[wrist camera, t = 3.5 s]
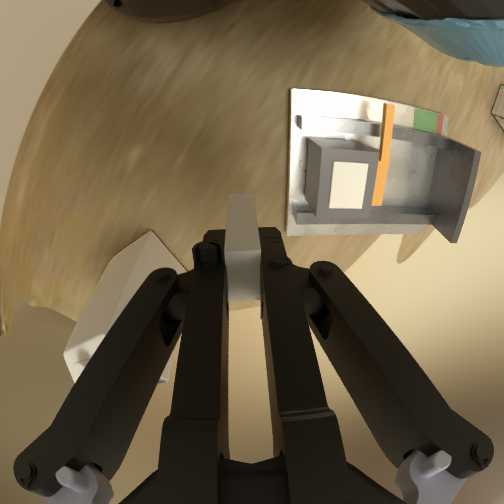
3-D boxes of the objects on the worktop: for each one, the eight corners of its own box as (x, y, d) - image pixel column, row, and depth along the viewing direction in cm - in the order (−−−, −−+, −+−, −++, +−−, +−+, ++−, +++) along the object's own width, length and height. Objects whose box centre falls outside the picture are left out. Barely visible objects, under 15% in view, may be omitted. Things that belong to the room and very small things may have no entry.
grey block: (308, 137, 23) (322, 148, 19) (358, 141, 23) (380, 153, 19) (304, 197, 26) (316, 219, 22) (351, 198, 26) (369, 219, 23)
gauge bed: (289, 88, 22) (308, 88, 16) (442, 114, 22) (485, 129, 16) (285, 230, 30) (296, 270, 24) (420, 229, 31) (450, 261, 25)
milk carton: (189, 272, 33) (163, 424, 17) (148, 294, 34) (111, 428, 19) (152, 228, 29) (87, 379, 13) (112, 256, 31) (47, 390, 15)
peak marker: (365, 99, 21) (382, 102, 18) (380, 102, 21) (398, 105, 18) (356, 193, 26) (369, 208, 23) (369, 194, 26) (384, 208, 23)
